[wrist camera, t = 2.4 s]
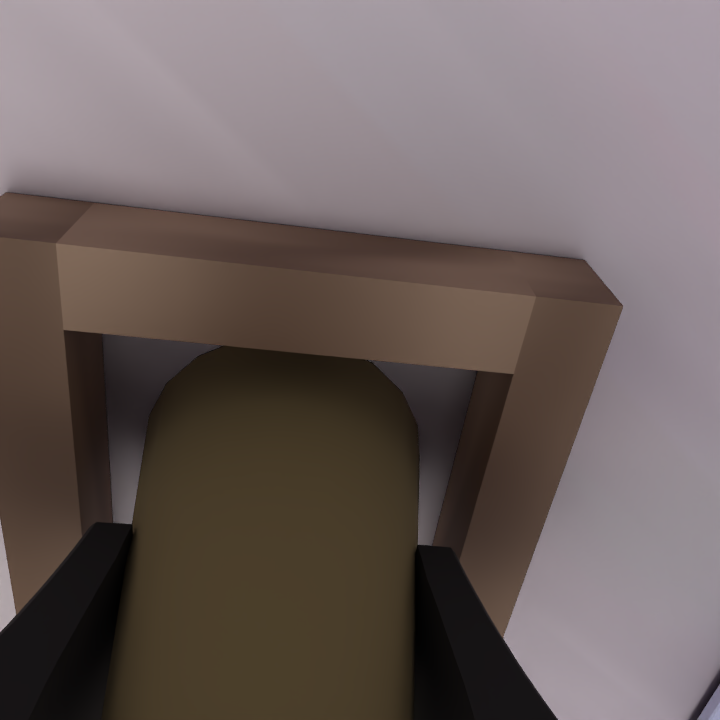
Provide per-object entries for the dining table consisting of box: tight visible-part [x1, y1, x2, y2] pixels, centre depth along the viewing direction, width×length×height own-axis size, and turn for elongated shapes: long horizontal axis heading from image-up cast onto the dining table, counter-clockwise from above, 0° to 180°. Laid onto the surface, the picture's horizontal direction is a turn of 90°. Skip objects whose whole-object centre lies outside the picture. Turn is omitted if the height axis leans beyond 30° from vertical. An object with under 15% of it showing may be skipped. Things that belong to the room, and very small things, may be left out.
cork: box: [101, 346, 420, 720], centre depth 11 cm, size 6×6×11 cm
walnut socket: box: [0, 192, 623, 638], centre depth 14 cm, size 11×11×2 cm
